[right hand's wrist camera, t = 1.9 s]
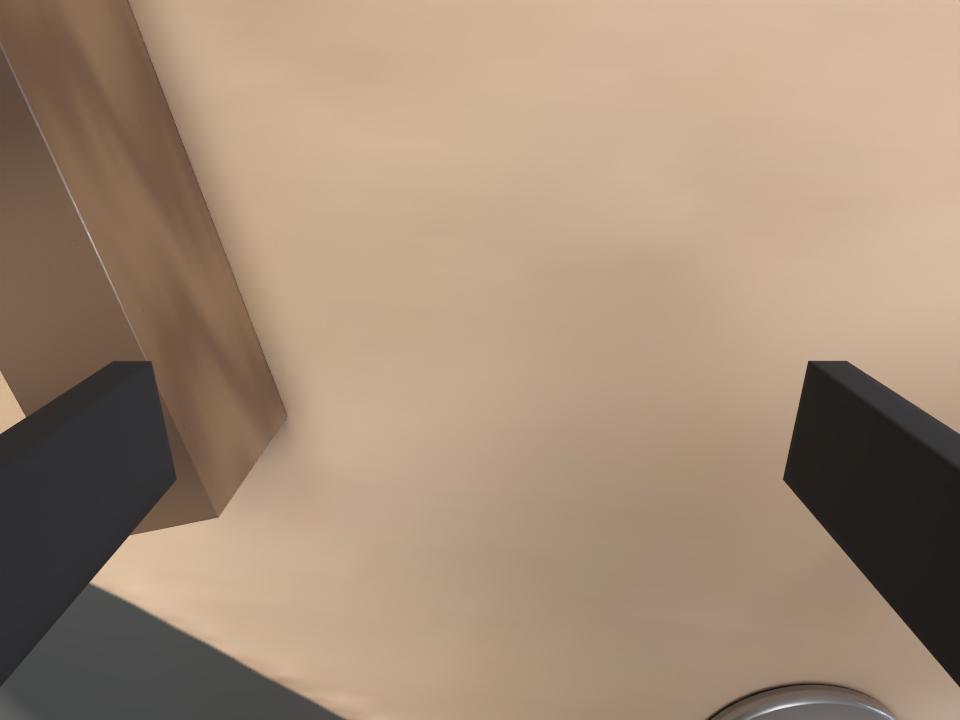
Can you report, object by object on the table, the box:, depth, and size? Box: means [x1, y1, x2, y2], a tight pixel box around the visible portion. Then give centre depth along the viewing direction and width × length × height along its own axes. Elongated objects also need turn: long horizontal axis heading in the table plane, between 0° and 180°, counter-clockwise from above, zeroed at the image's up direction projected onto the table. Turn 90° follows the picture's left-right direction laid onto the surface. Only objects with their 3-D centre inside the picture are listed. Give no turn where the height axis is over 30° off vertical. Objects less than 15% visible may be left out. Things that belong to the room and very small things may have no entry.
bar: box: [0, 0, 287, 535], centre depth 23 cm, size 32×5×9 cm, turn 13°
